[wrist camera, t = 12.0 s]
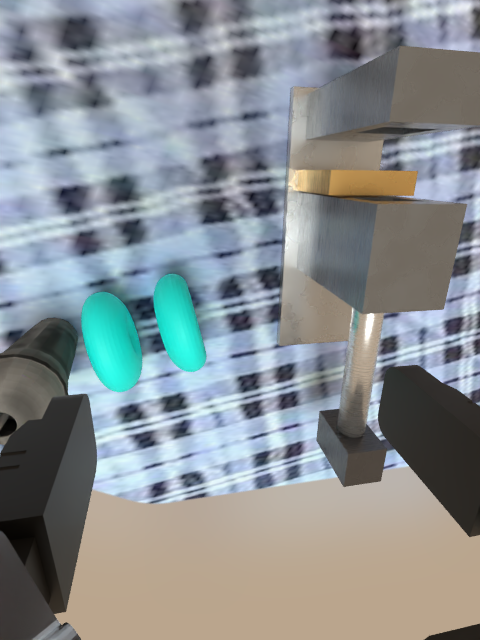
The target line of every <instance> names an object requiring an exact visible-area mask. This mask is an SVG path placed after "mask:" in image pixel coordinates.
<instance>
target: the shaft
mask: <svg viewBox="0 0 480 640" xmlns="http://www.w3.org/2000/svg"><path fill="white" fill-rule="evenodd" d="M383 318H384V313H376V314H361V313H360V312H358V311H357V310H355V309H354V308H352V315H351V322H350V330H349V338H348V346H347V353H346V361H345V369H344V376H343V384H342V392H341V400H340V407H339V409H334V410H325V411H320V413H319V422H318V431H317V442H318V444H319V445H320V447H321V449H322V451H323V452H324V454H325V456H326V457H327V459H328V461H329V463H330V464H331V466H332V468H333V469H334V471H335V473H336V475H337V476H338V478H339V480H340V481H341V483H342V485H343V486H344V487H346V486H352V485H359V484H365V483H372V482H378V481H381V477H382V472H383V467H384V462H385V457H386V451H387V448H386V447H385V446H384V445H383V444H382V442H381V441H380V440H379V439H378V437H377V436H376V435H375V434H374V433H373V431H372V430H371V429H370V428H369V426H368V425H367V424H366V422H367V416H368V410H369V404H370V398H371V392H372V386H373V379H374V373H375V367H376V361H377V355H378V349H379V343H380V337H381V330H382V324H383Z"/></svg>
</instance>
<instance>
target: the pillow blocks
mask: <svg viewBox="0 0 480 640" xmlns="http://www.w3.org/2000/svg"><path fill="white" fill-rule="evenodd" d="M479 126H480V53H478V52H467V51H455V50H443V49H432V48H420V47H408V46H399V47H397V48H395V49H393V50H391V51H389V52H387V53H385V54H383V55H381V56H379V57H378V58H376V59H374V60H372V61H370V62H368V63H366V64H364V65H362V66H360V67H358V68H356V69H355V70H353V71H351V72H349V73H347V74H345V75H343V76H341V77H339V78H337V79H335V80H334V81H332V82H330V83H328V84H326V85H324V86H322V87H320V88H310V87H293V88H291V92H290V111H289V129H288V147H287V166H286V184H285V203H284V221H283V239H282V258H281V276H280V295H279V313H278V331H277V343H278V345H279V346H284V345H297V344H311V343H324V342H338V341H348V338H349V330H350V322H351V315H352V308H354V309H355V310H357V311H358V312H360V313H361V314H376V313H393V312H409V311H426V310H442V309H444V305H445V301H446V296H447V292H448V287H449V283H450V278H451V274H452V269H453V265H454V260H455V256H456V251H457V247H458V242H459V238H460V234H461V229H462V225H463V220H464V216H465V211H466V207H467V204H462V203H453V202H443V201H434V200H425V199H415V198H406V197H396V196H387V195H324V194H316V193H309V192H302V191H297V188H298V173H299V170H373V171H379V169H380V162H381V155H382V148H383V140H386V139H394V138H401V137H408V136H415V135H422V134H429V133H436V132H443V131H451V130H458V129H465V128H472V127H479Z"/></svg>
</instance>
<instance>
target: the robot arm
mask: <svg viewBox="0 0 480 640" xmlns="http://www.w3.org/2000/svg"><path fill="white" fill-rule="evenodd" d="M378 421H379V426H380V429H381V432H382V434H383V435H384V437H385V438H386V439H387V440H388V441H389V443H390V444H391V445H392V446H393V447H394V449H395V450H396V451H397V452H398V453H399V454H400V456H401V457H402V458H403V459H404V460H405V462H406V463H407V464H408V465H409V466H410V467H411V469H412V470H413V471H414V472H415V473H416V474H417V475H418V477H419V478H420V479H421V480H422V482H423V483H424V484H425V485H426V486H427V487H428V489H429V490H430V491H431V492H432V493H433V495H434V496H435V497H436V498H437V499H438V500H439V502H441V504H442V505H443V506H444V507H445V509H446V510H447V511H448V512H449V513H450V515H451V516H452V517H453V518H454V519H455V520H456V522H457V523H458V524H459V525H460V526H461V528H462V529H463V530H464V531H465V532H466V533H467V535H468V536H469V537H472V536H477V535H480V406H478V405H477V404H476V403H472V400H470V399H469V398H468V397H466V396H465V395H464V394H462V393H461V392H459V391H458V390H457V389H454V388H452V387H450V386H448V385H446V384H444V383H442V382H440V381H439V380H438V379H436V378H435V377H434V376H432V375H431V374H430V373H428V372H427V371H425V370H424V369H423V368H421V367H420V366H418V365H409V366H398V367H390V368H389V369H388V370H387V371H386V374H385V378H384V384H383V390H382V395H381V401H380V407H379V412H378ZM0 454H1V455H0V640H81V638H80V637H79V636H78V634H77V633H76V631H75V630H74V629H73V627H72V626H71V625H70V624H68V623H64V624H63V625H61V624H60V623H59V621H58V620H57V618H56V617H55V615H54V614H56V613H61V612H66V609H67V604H68V600H69V595H70V590H71V586H72V581H73V576H74V571H75V567H76V562H77V558H78V552H79V548H80V543H81V539H82V534H83V529H84V525H85V519H86V515H87V511H88V506H89V501H90V496H91V491H92V487H93V482H94V478H95V473H96V465H97V449H96V441H95V434H94V428H93V421H92V415H91V408H90V402H89V398H88V396H87V394H78V395H67V396H55V397H53V398H52V399H51V401H50V403H49V405H48V407H47V409H46V411H45V413H44V415H43V417H42V419H37V420H28V421H27V422H26V423H25V424H23V425H22V426H21V427H20V428H19V429H18V430H16V431H15V432H14V433H13V434H12V435H11V436H10V437H9V439H8V441H7V442H6V444H5V446H4V448H3V450H2V451H1V453H0ZM425 640H480V624H477V625H472V626H468V627H464V628H460V629H456V630H452V631H448V632H443V633H439V634H435V635H431V636H429V637H427V638H426V639H425Z"/></svg>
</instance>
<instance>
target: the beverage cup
mask: <svg viewBox="0 0 480 640" xmlns="http://www.w3.org/2000/svg"><path fill="white" fill-rule="evenodd" d="M77 340H78V337H77V332H76V331H75V329H74V327H73V326H72V325H71V324H70V323H69V322H67V321H65V320H63V319H58V318H47V319H45V320H42V321H41V322H39V323H38V324H37V325H35V326H34V327H32V328H31V329H30V330H29V331H28V332H27V333H25V334H24V335H23V336H22V337H21V338H20V339H18V340H17V341H16V342H15V343H14V344H13V345H11V346H10V347H9V348H8V349H7V350H6V351H4V352H3V353H0V444H4V445H5V444H6V442H7V441H8V439H9V437H10V436H11V435H12V434H13V433H14V432H15V431H16V430H18V429H19V428H20V427H21V426H22V425H23V424H25V423H26V422H27V421H28V420H37V419H42V417H43V415H44V413H45V411H46V409H47V407H48V405H49V403H50V401H51V399H52V398H53V397H55V396H67V395H68V379H69V375H70V371H71V367H72V363H73V359H74V355H75V351H76V346H77Z"/></svg>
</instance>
